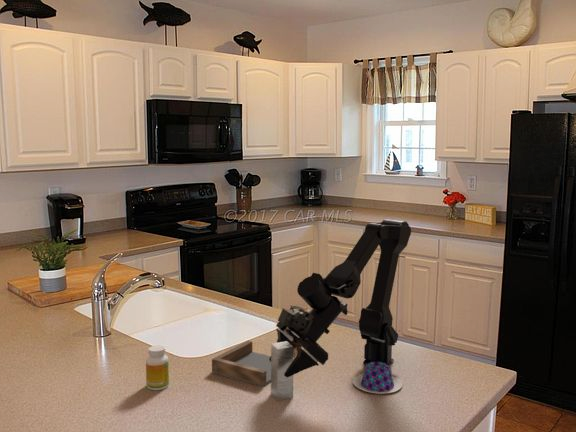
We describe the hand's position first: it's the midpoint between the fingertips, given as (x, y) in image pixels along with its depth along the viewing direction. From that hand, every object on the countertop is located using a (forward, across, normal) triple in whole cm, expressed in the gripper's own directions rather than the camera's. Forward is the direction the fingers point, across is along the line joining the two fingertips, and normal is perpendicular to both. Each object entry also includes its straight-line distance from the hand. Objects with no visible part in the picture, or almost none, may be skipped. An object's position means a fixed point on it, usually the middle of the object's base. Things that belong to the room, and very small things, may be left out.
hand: (277, 368), depth 133 cm
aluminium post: (+4, 0, +6) cm, 7 cm away
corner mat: (+4, -17, +5) cm, 19 cm away
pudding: (-13, +3, +23) cm, 27 cm away
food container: (-8, -30, +18) cm, 36 cm away
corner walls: (+4, -17, +5) cm, 19 cm away
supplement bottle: (+23, -16, -13) cm, 31 cm away
